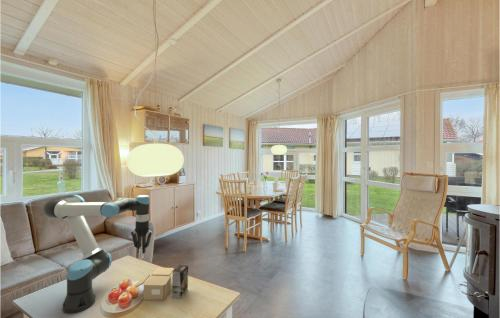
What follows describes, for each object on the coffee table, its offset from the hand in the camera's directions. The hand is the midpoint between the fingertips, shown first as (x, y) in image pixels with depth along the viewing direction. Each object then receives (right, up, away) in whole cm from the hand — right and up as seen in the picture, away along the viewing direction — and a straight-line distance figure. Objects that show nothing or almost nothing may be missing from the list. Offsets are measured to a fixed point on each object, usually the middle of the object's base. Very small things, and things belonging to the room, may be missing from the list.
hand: (141, 258), depth 141 cm
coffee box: (+24, -23, +1) cm, 33 cm away
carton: (+10, -23, +4) cm, 25 cm away
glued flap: (+3, -13, 0) cm, 13 cm away
